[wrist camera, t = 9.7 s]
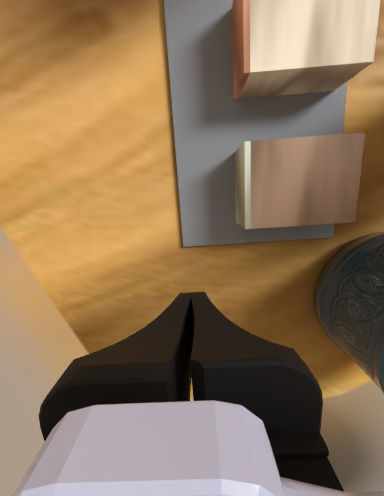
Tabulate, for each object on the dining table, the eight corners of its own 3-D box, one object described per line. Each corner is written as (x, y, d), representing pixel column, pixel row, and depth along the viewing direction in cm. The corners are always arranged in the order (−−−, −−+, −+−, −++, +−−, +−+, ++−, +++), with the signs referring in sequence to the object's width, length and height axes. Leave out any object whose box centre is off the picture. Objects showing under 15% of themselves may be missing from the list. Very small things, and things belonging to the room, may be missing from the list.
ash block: (231, 8, 16) (341, -3, 16) (233, 99, 18) (334, 90, 17) (242, -50, 12) (387, -66, 12) (243, 72, 14) (373, 61, 14)
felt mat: (353, -33, 16) (357, -39, 16) (330, 236, 21) (333, 237, 20) (162, -14, 16) (162, -19, 16) (183, 245, 21) (183, 246, 21)
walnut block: (234, 152, 19) (329, 145, 18) (235, 222, 20) (324, 216, 20) (244, 141, 15) (365, 132, 15) (245, 229, 16) (355, 222, 16)
